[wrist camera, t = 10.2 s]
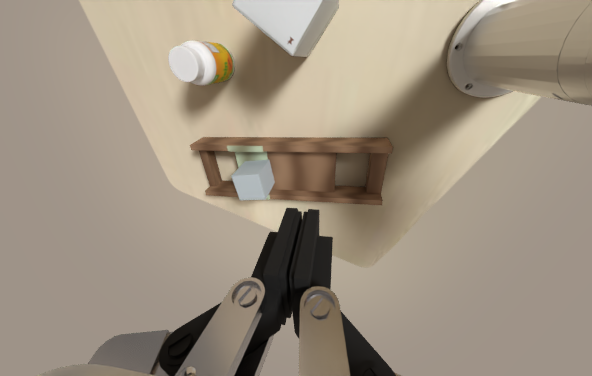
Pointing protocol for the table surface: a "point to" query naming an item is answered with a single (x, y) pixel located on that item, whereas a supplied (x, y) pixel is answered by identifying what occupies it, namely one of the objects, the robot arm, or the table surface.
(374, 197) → the box
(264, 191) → the block
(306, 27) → the supplement box
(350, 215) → the table surface
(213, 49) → the supplement bottle
